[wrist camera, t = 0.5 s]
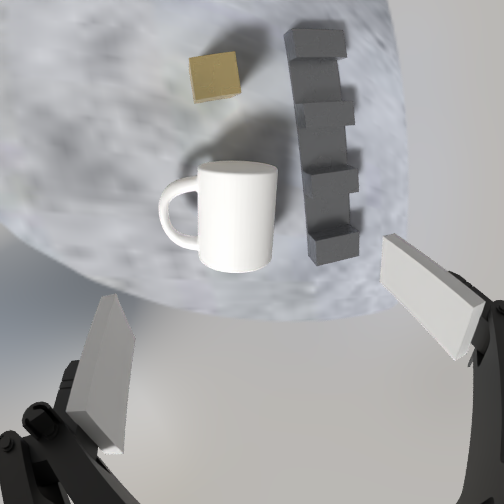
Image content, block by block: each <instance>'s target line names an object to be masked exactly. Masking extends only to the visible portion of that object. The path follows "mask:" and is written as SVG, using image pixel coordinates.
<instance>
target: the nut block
mask: <svg viewBox="0 0 504 504" xmlns="http://www.w3.org/2000/svg"><path fill="white" fill-rule="evenodd" d="M189 74H190V80H191V86H192V92H193V99H194V104H196V103H202V102H207V101H213V100H219V99H226V98H231V97H234V96H236V95H238V94H240V93H241V87H240V80H239V74H238V67H237V61H236V54H235V51H233V52H225V53H217V54H210V55H204V56H198V57H192V58H189Z"/></svg>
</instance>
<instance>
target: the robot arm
mask: <svg viewBox="0 0 504 504" xmlns="http://www.w3.org/2000/svg"><path fill="white" fill-rule="evenodd" d="M380 283H381V284H382V285H383V286H384V287H385V288H386V289H387V290H388V291H389V292H390V293H391V294H392V295H393V296H394V297H395V298H396V299H397V300H398V301H399V302H400V303H401V304H402V305H403V306H404V307H405V308H406V309H407V310H408V311H409V312H410V313H411V314H412V315H413V316H414V318H415V319H416V320H417V321H418V322H419V323H420V324H421V325H422V326H423V327H424V328H425V329H426V330H427V331H428V332H429V333H430V334H431V335H432V337H433V338H434V339H435V340H436V341H437V342H438V343H439V344H440V345H441V346H442V347H443V349H444V350H446V352H447V353H448V354H449V355H450V356H451V357H452V359H454V361H455V360H457V359H459V358H460V357H462V356H464V355H466V354H467V352H468V349H469V347H470V344H471V343H472V345H474V347H475V349H474V352H473V354H472V356H471V359H470V361H469V363H468V367H470V365H471V363H472V362H473V373H474V374H473V376H474V378H473V386H474V387H473V413H472V428H471V438H470V448H469V455H468V462H467V469H466V476H465V480H464V486H463V491H462V494H461V496H460V498H459V500H458V502H457V503H456V504H504V301H503V300H496V301H494V302H493V301H491V300H490V299H489V298H488V297H486V296H485V295H484V294H483V293H481V292H480V291H479V290H478V289H476V288H475V287H472V285H471V284H470V283H469V282H466V280H465V279H464V278H462V277H461V276H460V275H458V274H456V273H453V272H451V271H446V270H445V269H444V268H442V267H441V266H440V265H438V264H437V263H436V262H434V261H433V260H431V259H430V258H429V257H428V256H426V255H425V254H423V253H422V252H421V251H419V250H418V249H416V248H415V247H414V246H412V245H411V244H409V243H408V242H407V241H405V240H404V239H402V238H401V237H399V236H398V235H396V234H395V233H394V234H390V235H386V236H383V244H382V259H381V272H380ZM134 346H135V337H134V334H133V332H132V330H131V328H130V326H129V323H128V321H127V319H126V316H125V314H124V312H123V310H122V307H121V305H120V302H119V300H118V297H117V295H116V294H113V295H107V296H102V297H101V300H100V302H99V305H98V307H97V310H96V313H95V316H94V319H93V322H92V324H91V327H90V330H89V333H88V336H87V339H86V342H85V345H84V349H83V351H82V355H81V358H80V360H75V361H71V363H70V364H69V365H68V367H67V368H66V369H65V371H64V374H63V378H62V382H61V384H60V390H59V391H58V394H57V397H56V401H55V405H54V408H53V409H52V408H51V406H50V405H49V404H48V403H46V402H36V403H34V404H32V405H31V406H30V407H29V408H27V410H26V411H25V413H24V414H23V418H22V424H23V427H24V428H25V429H26V430H27V431H28V432H29V433H30V434H31V435H29V436H26V437H23V438H21V437H20V436H19V435H18V434H17V433H16V432H15V431H12V430H10V431H6V432H4V433H3V434H1V436H0V486H1V491H2V497H3V501H4V504H71V503H70V500H69V498H68V495H69V497H70V498H71V500H72V501H73V503H74V504H140V503H139V502H138V501H137V500H136V499H135V498H134V497H133V496H132V495H131V494H130V493H129V492H128V490H127V489H126V488H125V487H124V486H123V485H122V484H121V483H120V482H119V481H118V479H117V478H116V477H115V476H114V475H113V473H112V472H111V471H110V470H109V469H108V467H107V466H106V465H105V464H104V462H103V461H102V460H101V459H100V458H99V457H98V456H97V451H98V447H99V448H100V449H101V450H102V451H103V452H104V453H105V454H123V453H124V439H125V438H124V437H125V424H126V413H127V401H128V392H129V383H130V375H131V366H132V359H133V352H134ZM67 494H68V495H67Z"/></svg>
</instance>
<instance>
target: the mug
mask: <svg viewBox="0 0 504 504" xmlns="http://www.w3.org/2000/svg"><path fill="white" fill-rule="evenodd" d="M277 177H278V169H277V168H276V167H275V166H273V165H270V164H265V163H259V162H251V161H214V162H207V163H203V164H201V165H199V166H198V174H197V175H196V176H191V177H185V178H181V179H178V180H176V181H174V182H172V183H171V184H169V185H168V186H167V187H166V188H165V189H164V191H163V193H162V195H161V197H160V201H159V217H160V221H161V224H162V227H163V229H164V231H165V232H166V234H167V235H168V237H169V238H170V239H171V240H172V241H173V242H174V243H176V244H177V245H179V246H181V247H184V248H187V249H192V250H198V251H199V259H200V260H201V262H202V263H203V264H204V265H206V266H208V267H209V268H212V269H214V270H218V271H222V272H229V273H244V272H251V271H255V270H258V269H261V268H263V267H265V266H266V265H267V264H268V263H269V262H270V261H271V258H272V247H273V233H274V220H275V206H276V192H277ZM191 191H197V193H198V235H197V236H191V235H185V234H182V233H180V232H178V231H177V230H176V229H175V228H174V227H173V226H172V224H171V221H170V218H169V210H168V208H169V203H170V201H171V200H172V199H173V198H174V197H176V196H178V195H180V194H183V193H186V192H191Z"/></svg>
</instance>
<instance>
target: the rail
mask: <svg viewBox="0 0 504 504" xmlns="http://www.w3.org/2000/svg"><path fill="white" fill-rule="evenodd" d="M284 40H285V46H286V52H287V58H288V65H289V72H290V79H291V86H292V93H293V100H294V108H295V116H296V124H297V133H298V141H299V150H300V160H301V170H302V180H303V191H304V202H305V215H306V228H307V242H308V256H309V257H310V258H311V260H312V261H313V262H314V263H315V264H316V266H319V265H323V264H328V263H332V262H336V261H340V260H344V259H348V258H352V257H356V256H359V231H358V230H356V229H355V228H354V227H352V226H351V225H350V224H349V193H354V192H359V182H358V169H357V168H354V167H352V166H349V165H347V153H346V139H345V128H344V126H346V125H355V118H354V108H353V101H342V98H341V90H340V82H339V74H338V67H337V60H340V59H344V58H347V53H346V46H345V40H344V34H343V30H327V29H291V30H290V31H289V32H287V33H286V34H285V35H284Z"/></svg>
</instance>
